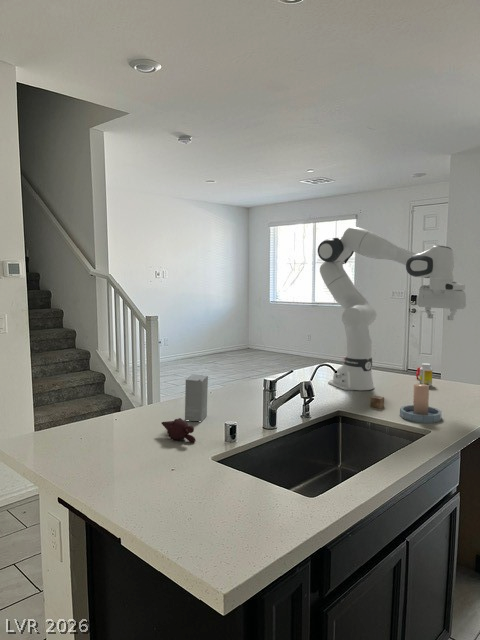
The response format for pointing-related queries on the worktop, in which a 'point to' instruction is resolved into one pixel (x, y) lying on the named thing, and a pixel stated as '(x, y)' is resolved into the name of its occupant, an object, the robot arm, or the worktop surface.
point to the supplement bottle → (426, 374)
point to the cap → (418, 372)
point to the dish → (432, 416)
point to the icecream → (179, 430)
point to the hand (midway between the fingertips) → (440, 319)
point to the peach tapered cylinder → (421, 399)
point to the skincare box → (196, 397)
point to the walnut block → (377, 402)
